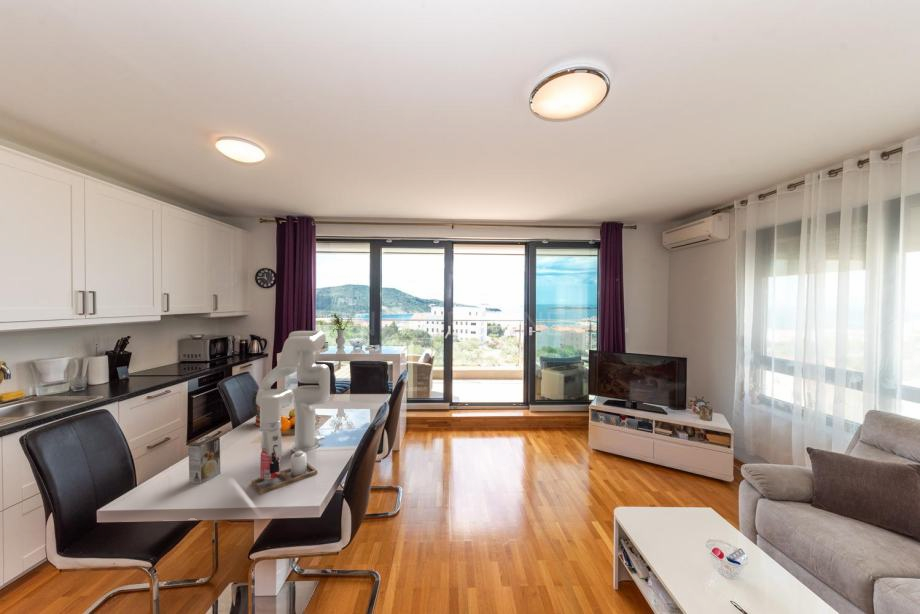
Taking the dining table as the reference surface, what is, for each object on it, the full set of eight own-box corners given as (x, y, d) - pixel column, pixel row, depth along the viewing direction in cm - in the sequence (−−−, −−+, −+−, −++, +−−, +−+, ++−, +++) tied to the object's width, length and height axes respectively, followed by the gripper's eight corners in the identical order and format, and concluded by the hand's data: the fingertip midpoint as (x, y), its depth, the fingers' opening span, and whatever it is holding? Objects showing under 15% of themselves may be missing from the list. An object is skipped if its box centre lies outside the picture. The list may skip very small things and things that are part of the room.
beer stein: (242, 426, 208) (242, 393, 208) (258, 418, 223) (258, 387, 222) (272, 427, 206) (272, 393, 206) (287, 419, 221) (287, 387, 221)
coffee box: (208, 472, 152) (208, 435, 152) (220, 473, 151) (220, 436, 151) (188, 482, 143) (188, 443, 143) (201, 484, 142) (200, 445, 142)
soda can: (279, 471, 145) (279, 442, 144) (281, 478, 139) (281, 448, 139) (260, 475, 141) (259, 446, 141) (261, 483, 135) (260, 452, 135)
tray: (304, 467, 157) (304, 461, 157) (318, 478, 147) (318, 471, 147) (250, 485, 141) (249, 479, 141) (261, 499, 131) (261, 492, 131)
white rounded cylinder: (303, 469, 152) (302, 448, 152) (308, 473, 148) (308, 452, 148) (288, 473, 148) (288, 452, 148) (294, 478, 144) (294, 456, 144)
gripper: (289, 428, 136) (289, 473, 137) (272, 418, 148) (273, 459, 148) (268, 433, 131) (268, 480, 131) (253, 422, 143) (253, 465, 143)
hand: (270, 468), depth 140 cm, fingers closed on soda can, 7 cm apart
